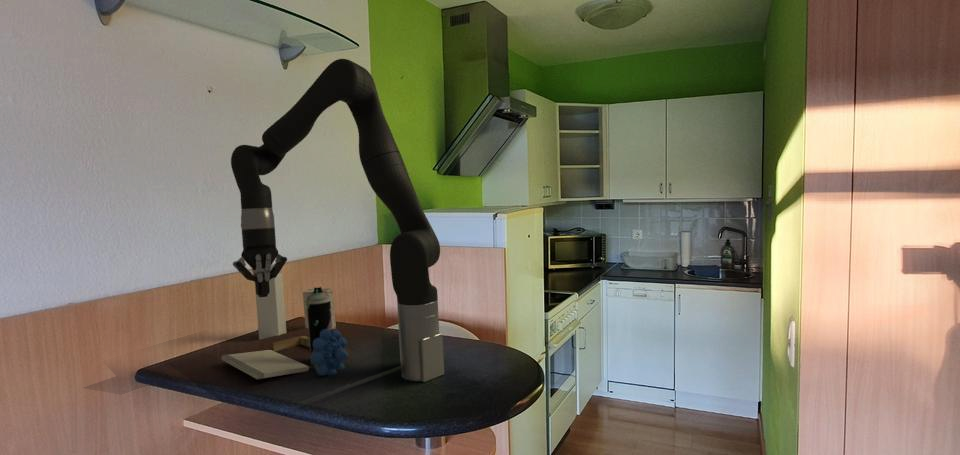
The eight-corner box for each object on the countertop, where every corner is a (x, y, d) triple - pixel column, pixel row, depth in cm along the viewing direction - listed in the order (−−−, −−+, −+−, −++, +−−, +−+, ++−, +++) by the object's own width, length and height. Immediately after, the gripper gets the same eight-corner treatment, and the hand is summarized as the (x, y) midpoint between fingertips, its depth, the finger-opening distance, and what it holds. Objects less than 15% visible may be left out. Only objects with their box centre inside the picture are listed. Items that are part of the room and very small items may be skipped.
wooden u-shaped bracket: (350, 365, 122) (349, 351, 122) (317, 376, 116) (316, 361, 116) (303, 347, 139) (302, 335, 139) (272, 355, 133) (271, 343, 132)
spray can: (316, 373, 118) (310, 290, 117) (308, 367, 122) (302, 287, 121) (338, 367, 122) (332, 286, 120) (329, 361, 126) (324, 284, 124)
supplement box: (336, 328, 158) (333, 287, 157) (330, 332, 153) (327, 290, 152) (311, 328, 159) (308, 288, 158) (305, 333, 154) (302, 291, 153)
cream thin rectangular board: (311, 366, 117) (257, 374, 107) (311, 372, 116) (256, 381, 107) (272, 349, 131) (221, 355, 122) (272, 354, 131) (221, 361, 122)
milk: (279, 340, 147) (274, 267, 145) (258, 341, 147) (253, 268, 145) (286, 334, 153) (281, 263, 151) (267, 335, 153) (261, 264, 151)
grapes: (330, 390, 107) (327, 336, 106) (306, 386, 110) (302, 333, 109) (362, 371, 118) (359, 321, 117) (339, 368, 121) (336, 320, 120)
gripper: (235, 228, 115) (240, 302, 116) (290, 225, 124) (295, 293, 125) (224, 229, 120) (229, 299, 121) (278, 225, 130) (283, 291, 130)
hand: (263, 296), depth 123 cm, fingers closed
